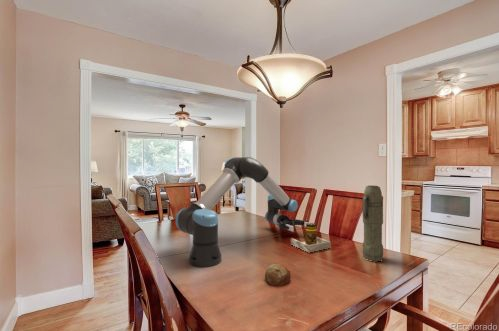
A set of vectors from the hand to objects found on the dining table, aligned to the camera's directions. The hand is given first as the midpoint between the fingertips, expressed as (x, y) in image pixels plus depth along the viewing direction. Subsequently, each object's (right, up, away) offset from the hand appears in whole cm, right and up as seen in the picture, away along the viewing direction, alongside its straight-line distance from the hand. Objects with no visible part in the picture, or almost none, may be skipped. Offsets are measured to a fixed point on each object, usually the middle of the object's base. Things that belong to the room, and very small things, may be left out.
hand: (302, 227), depth 147 cm
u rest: (+3, -9, -6) cm, 11 cm away
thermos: (+29, -9, -23) cm, 38 cm away
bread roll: (-19, -10, -45) cm, 50 cm away
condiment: (+3, -9, -6) cm, 11 cm away
